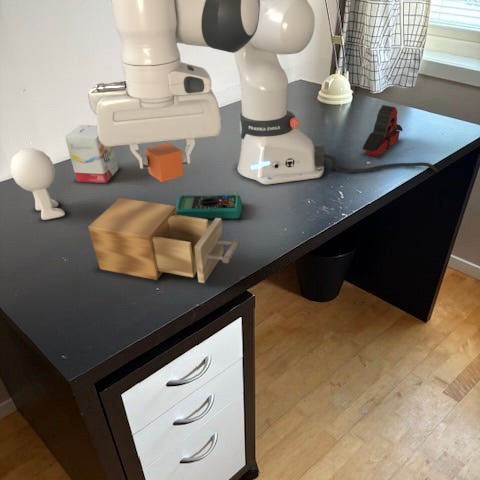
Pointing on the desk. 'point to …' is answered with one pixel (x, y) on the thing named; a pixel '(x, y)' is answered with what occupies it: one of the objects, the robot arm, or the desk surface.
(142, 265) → the cabinet
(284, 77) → the robot arm
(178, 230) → the drawer
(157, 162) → the block
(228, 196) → the digital multimeter
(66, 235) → the desk surface
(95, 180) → the ink box
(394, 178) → the desk surface
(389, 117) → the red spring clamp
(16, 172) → the toy character
